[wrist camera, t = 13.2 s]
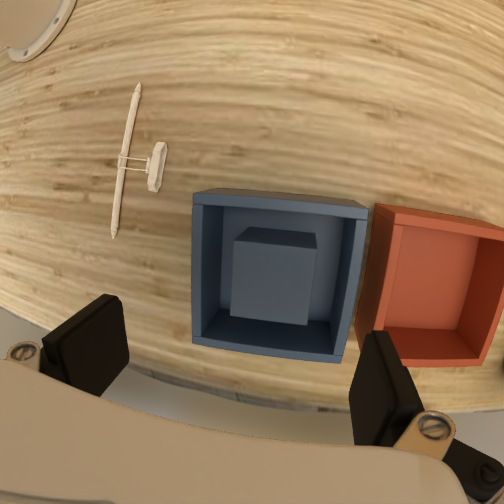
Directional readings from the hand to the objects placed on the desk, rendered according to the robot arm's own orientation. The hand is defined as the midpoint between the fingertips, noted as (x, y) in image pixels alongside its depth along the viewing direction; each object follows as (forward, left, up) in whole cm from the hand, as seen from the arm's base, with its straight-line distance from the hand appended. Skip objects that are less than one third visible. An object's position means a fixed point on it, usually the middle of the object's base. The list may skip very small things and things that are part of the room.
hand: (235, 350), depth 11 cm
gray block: (0, 0, -13) cm, 13 cm away
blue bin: (0, 0, -14) cm, 14 cm away
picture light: (-7, -12, -14) cm, 19 cm away
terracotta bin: (0, +12, -14) cm, 19 cm away
